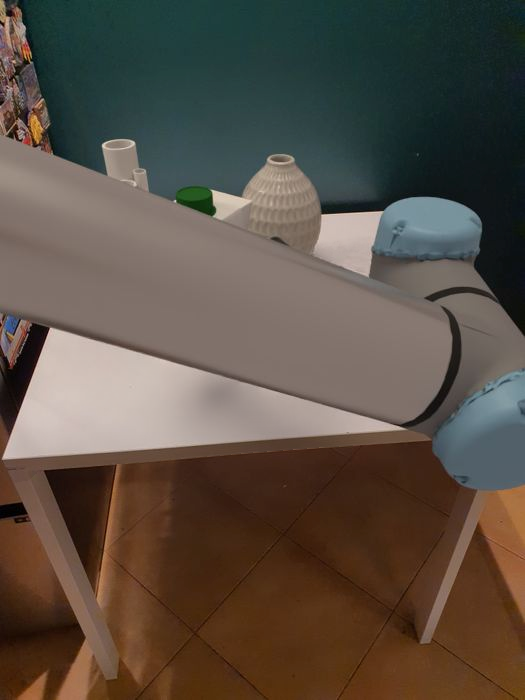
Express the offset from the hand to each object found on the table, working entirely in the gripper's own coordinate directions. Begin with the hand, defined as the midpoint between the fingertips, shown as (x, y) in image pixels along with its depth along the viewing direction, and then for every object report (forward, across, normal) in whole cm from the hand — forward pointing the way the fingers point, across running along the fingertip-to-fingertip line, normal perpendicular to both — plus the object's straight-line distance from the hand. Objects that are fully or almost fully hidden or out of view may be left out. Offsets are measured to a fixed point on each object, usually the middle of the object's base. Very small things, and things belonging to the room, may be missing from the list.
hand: (188, 244), depth 66 cm
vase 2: (+16, +32, -23) cm, 43 cm away
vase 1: (+46, +18, -23) cm, 55 cm away
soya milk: (-4, 0, -11) cm, 12 cm away
